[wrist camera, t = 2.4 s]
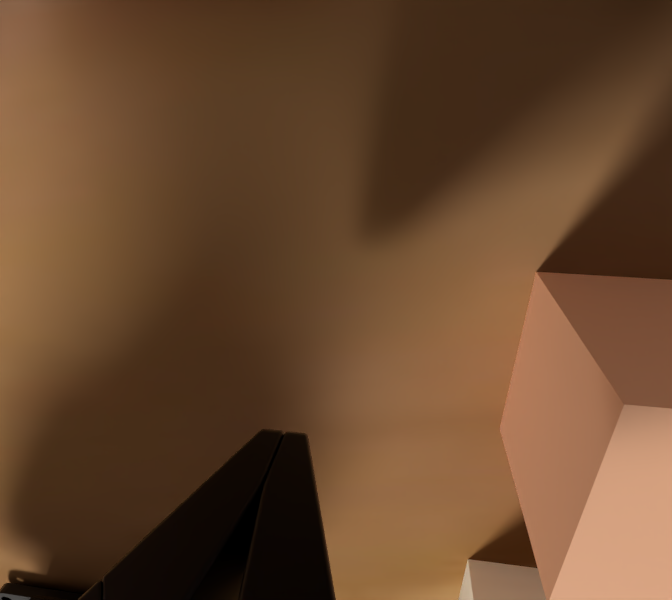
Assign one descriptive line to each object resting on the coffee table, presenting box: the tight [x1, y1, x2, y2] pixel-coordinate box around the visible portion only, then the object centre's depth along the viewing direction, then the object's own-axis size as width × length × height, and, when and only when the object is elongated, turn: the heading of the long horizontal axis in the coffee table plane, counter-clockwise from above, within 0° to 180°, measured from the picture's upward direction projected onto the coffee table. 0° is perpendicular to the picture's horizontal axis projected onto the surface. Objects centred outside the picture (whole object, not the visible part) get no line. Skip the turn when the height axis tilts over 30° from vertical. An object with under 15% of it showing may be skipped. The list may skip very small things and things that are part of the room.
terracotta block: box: [500, 272, 672, 600], centre depth 9 cm, size 4×4×4 cm
